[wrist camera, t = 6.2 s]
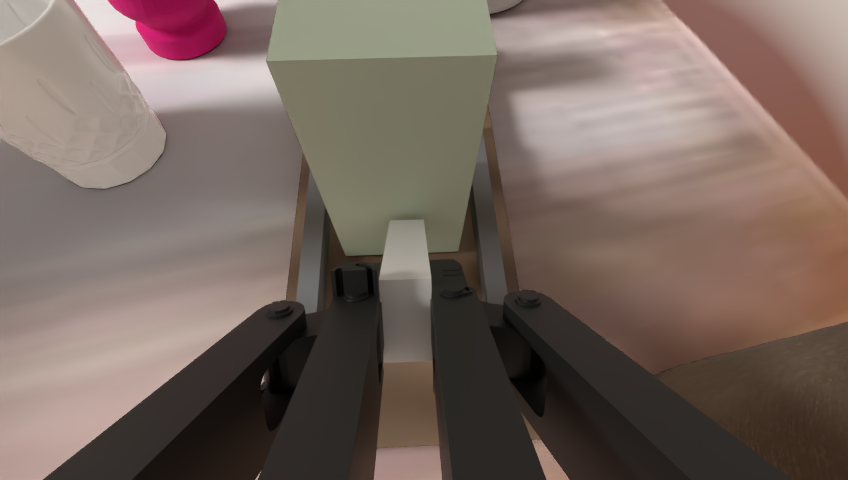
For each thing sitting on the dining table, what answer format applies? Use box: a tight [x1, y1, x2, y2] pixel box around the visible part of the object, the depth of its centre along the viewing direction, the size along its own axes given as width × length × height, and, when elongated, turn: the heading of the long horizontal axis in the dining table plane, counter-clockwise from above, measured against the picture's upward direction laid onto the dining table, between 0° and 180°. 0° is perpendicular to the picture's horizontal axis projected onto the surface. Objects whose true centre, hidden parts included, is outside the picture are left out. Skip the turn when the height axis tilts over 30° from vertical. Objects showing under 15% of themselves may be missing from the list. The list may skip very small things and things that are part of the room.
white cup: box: [0, 0, 166, 189], centre depth 22 cm, size 8×8×10 cm
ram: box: [266, 0, 497, 256], centre depth 17 cm, size 5×7×12 cm
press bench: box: [286, 105, 540, 448], centre depth 21 cm, size 28×12×10 cm, turn 3°
